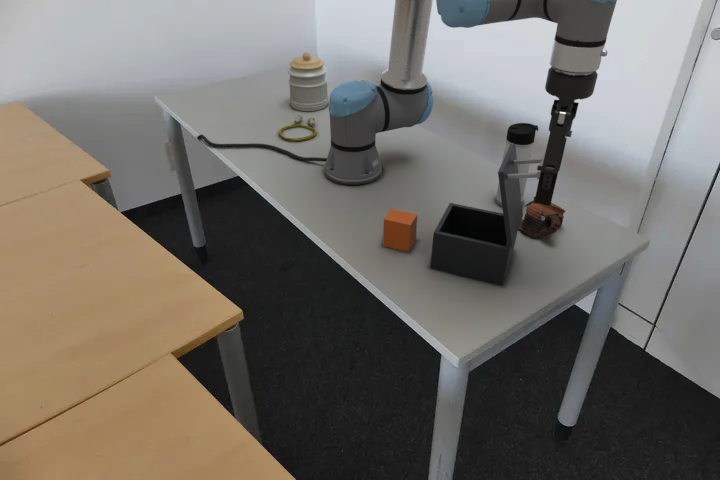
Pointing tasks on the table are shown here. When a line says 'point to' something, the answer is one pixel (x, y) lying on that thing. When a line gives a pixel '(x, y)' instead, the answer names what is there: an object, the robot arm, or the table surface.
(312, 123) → the extension cord
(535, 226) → the pottery mug
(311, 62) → the jar
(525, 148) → the travel mug
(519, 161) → the hinged box lid
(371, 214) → the table surface
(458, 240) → the open box
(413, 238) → the orange block
